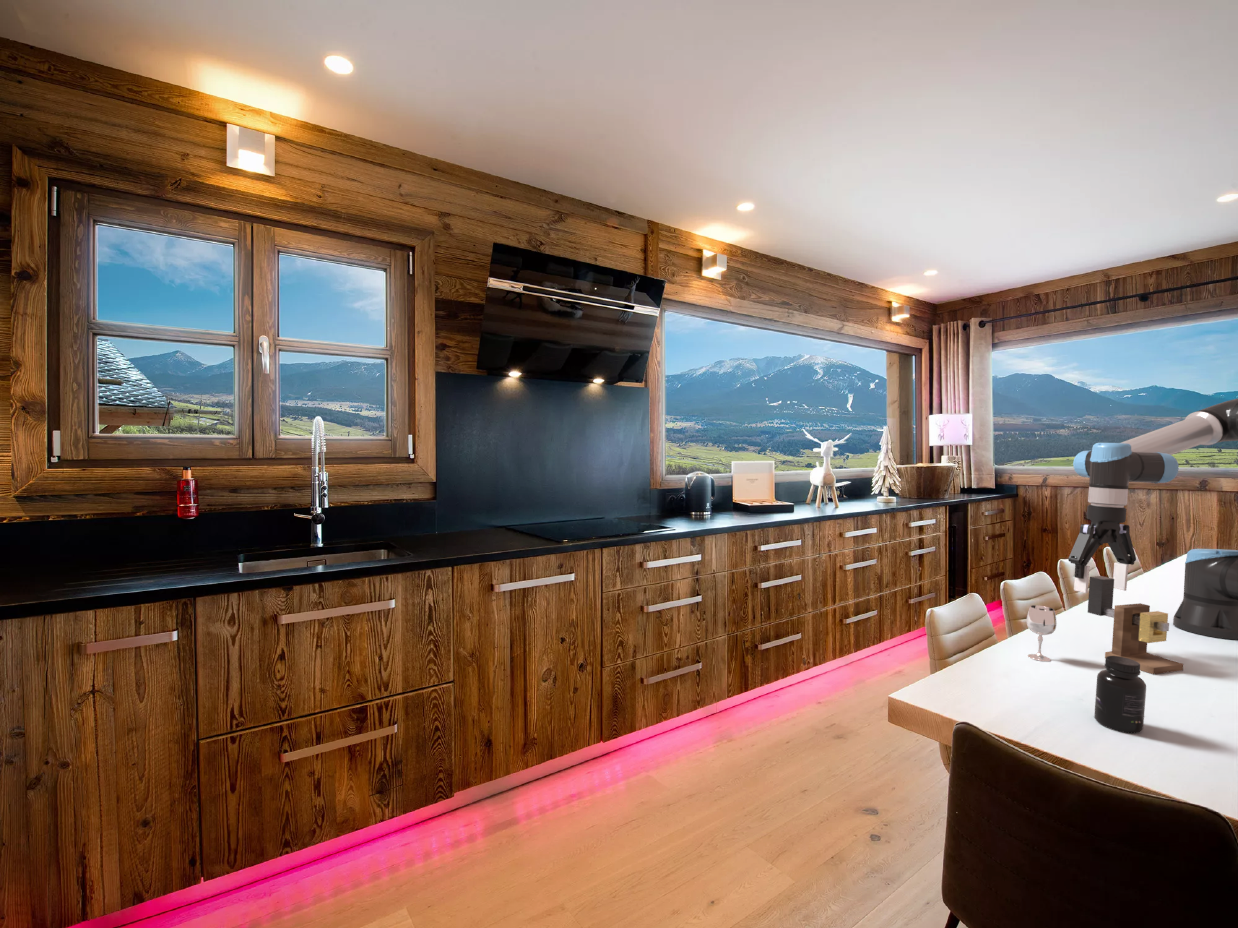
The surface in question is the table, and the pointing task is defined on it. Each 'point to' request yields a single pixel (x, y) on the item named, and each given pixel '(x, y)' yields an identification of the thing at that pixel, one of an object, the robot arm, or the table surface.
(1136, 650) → the bearing frame
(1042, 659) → the wineglass
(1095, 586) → the grey hammer
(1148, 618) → the block
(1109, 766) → the table surface
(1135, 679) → the supplement bottle
